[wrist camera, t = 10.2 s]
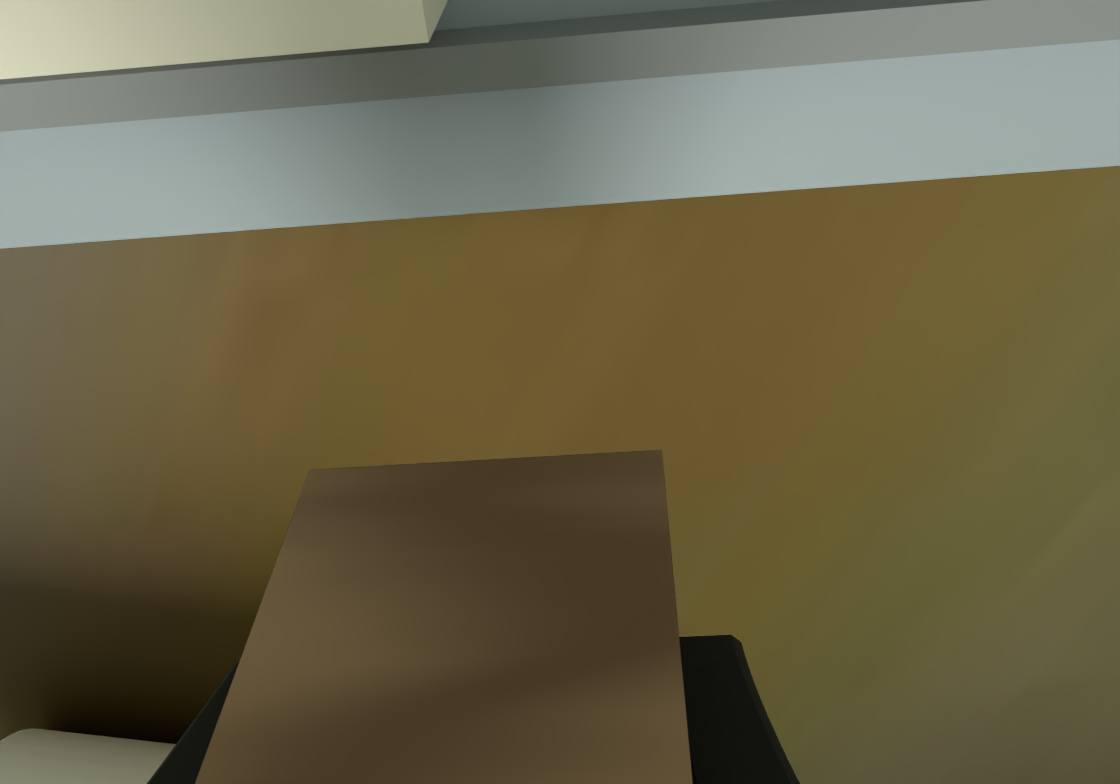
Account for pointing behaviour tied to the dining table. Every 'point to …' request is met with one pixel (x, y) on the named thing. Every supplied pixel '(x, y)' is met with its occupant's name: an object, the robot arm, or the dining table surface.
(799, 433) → the dining table surface
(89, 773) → the mug
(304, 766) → the brown wooden block
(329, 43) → the cover
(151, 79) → the puzzle board
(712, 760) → the robot arm
